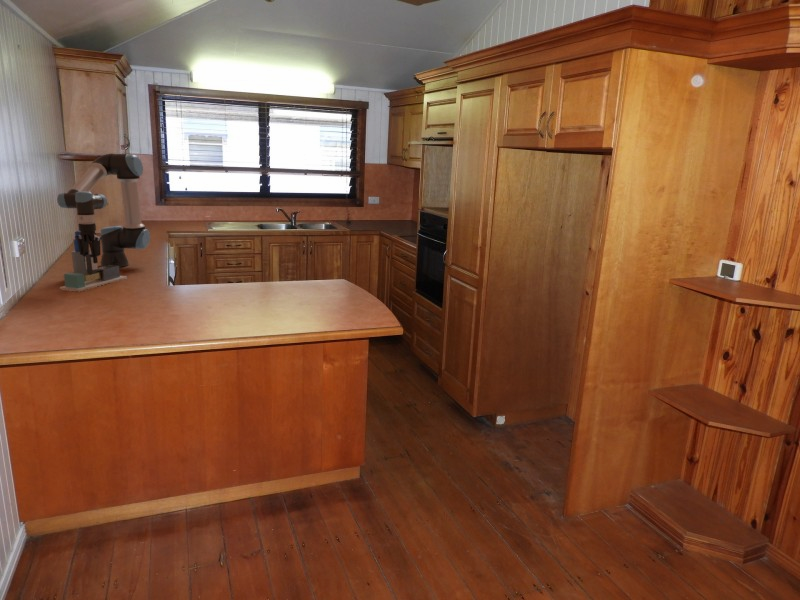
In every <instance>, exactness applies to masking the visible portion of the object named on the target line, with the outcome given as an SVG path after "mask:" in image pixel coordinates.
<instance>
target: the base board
mask: <svg viewBox="0 0 800 600" xmlns="http://www.w3.org/2000/svg"><path fill="white" fill-rule="evenodd" d="M124 279H125V280H127V279H128V276H126V275H120V277H117V278H113V279H110V280H106V281H100V280H91V281H88V282H85V287H82V288H70V287H65V285H63V286H60V287H59V290H60V289H62V290H61V291H68V290H69V292H70V291H71V292H76V291H79V292H78V293H80V291H81V292H84V291H83V290H85V291H87V290H86V289H88V290H90V289H89V288H92V289H94V288H93V287H96V288H98V287H97V286H99V287H102V286H101V285H103V286H105V285H104V284H107V283H110V284H113V283H112V282H114V283H116V282H115V281H117V282H120V281H119V280H121V281H124ZM107 285H108V284H107Z"/></svg>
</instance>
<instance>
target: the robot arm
mask: <svg viewBox="0 0 800 600" xmlns="http://www.w3.org/2000/svg"><path fill="white" fill-rule="evenodd" d="M143 171H144V167H143V163H142V160H141V158H140V157H139V156H137V155H136V154H131V153H106V154H103V155H101V156H99V157H97V158H95V159H94V160H93V161H91V163H90V164H89V166H88V169H87V170H86V171H85V173H83V175H82V176H81V177H80V178H79V179H78V180H77V182H76V183H74V185H73V186H72V187H71V188H70V189H69V190H68V191H67V192H62V193H61V192H60V193H58V195H57V198H56V201H57V202H56V203H58V206H59V207H60V208H63V209H76V213H77V222H78V231H81V232H80V235H77V236H76V238H77V240H78V245H79V251H80V254H81V255H83V256H84V261H85V263H86V254H89V250H90V252H91V254H92V256H91V263H92V270H95V269H98V257H100V256H101V259H100V262H99V263H100V266H99V267H101V266H102V267H103V266H107V265H116V266H119V268H122V266H124V267H127V265H128V266H129V264H130V262H129V259H128V257H127V255H126V253H125V249H131V250H134V249H135V250H145V249H146V248H147V247H148V246H149V244H150V241H151V234H150V231H149V229H147V228H146V226H145V224H144V223H142V215H141V214H142V213H141V205H140V196H139V195H140V194H139V188H138V187H139V185H138V181H139V180H140V176H142V175H143V173H144V172H143ZM113 175H114V176H116V180H118V181H119V182H120V187H121V188H120V189H121V197H122V205H123V213H124V222H125V224H124V225H123V226H122V225H113V226H106V227H103V228H101V229H100V236H98V235H97V234H96V231H97V225H96V217H95V211H96V210H101V209H104V208H106V207H107V205H108V199H107V197H106V196H105V195H104V194H102V193H92V190H93V189H94V188H95V187H96V186H97V184H99V182H100V181H101V179H105V178H106V177H107V176H113ZM101 250H102V251H101ZM101 253H102V254H101ZM86 269H87V263H86Z"/></svg>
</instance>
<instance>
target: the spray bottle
mask: <svg viewBox="0 0 800 600" xmlns="http://www.w3.org/2000/svg"><path fill="white" fill-rule="evenodd" d="M80 232H81V231H79V230H77V231H74V239H73V248H74V250H72V251H71V258H72V266H73V273H80V274H84V275H85V274H88V272H87V269H86V263H85V261H84V256H83V255H81V254H80V251H79V245H78V240H77V238H76V236H77V235H80ZM89 254H91V249H89Z"/></svg>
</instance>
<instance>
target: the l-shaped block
mask: <svg viewBox="0 0 800 600" xmlns="http://www.w3.org/2000/svg"><path fill="white" fill-rule="evenodd" d="M91 256H92V254H86V263H87V272H88V274H85V275H84V281H85V282H88V281H91V280H95V279H99V278H102V271H97V269H95V270H92V263H91Z"/></svg>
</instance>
